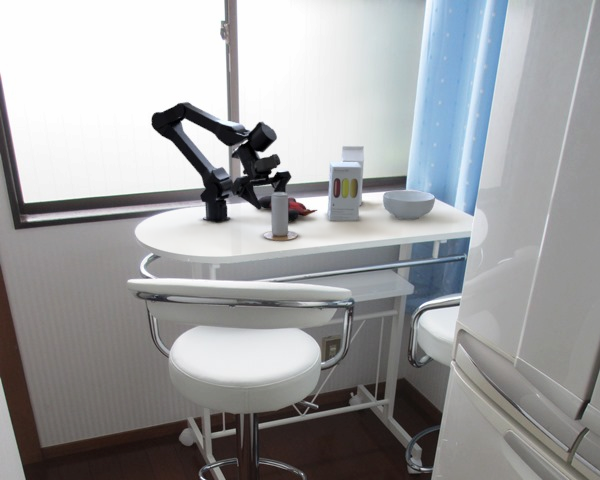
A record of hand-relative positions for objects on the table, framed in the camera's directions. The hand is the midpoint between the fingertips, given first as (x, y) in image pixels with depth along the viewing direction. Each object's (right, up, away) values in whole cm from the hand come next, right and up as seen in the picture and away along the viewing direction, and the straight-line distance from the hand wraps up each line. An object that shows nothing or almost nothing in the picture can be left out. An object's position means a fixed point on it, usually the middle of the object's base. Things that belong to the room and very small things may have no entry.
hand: (273, 207), depth 202 cm
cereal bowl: (+43, +3, +23) cm, 49 cm away
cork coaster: (+2, -8, +1) cm, 9 cm away
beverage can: (+2, -8, +1) cm, 8 cm away
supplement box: (+22, +2, +21) cm, 31 cm away
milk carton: (+26, +12, +39) cm, 48 cm away
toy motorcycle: (+4, +5, +25) cm, 26 cm away
